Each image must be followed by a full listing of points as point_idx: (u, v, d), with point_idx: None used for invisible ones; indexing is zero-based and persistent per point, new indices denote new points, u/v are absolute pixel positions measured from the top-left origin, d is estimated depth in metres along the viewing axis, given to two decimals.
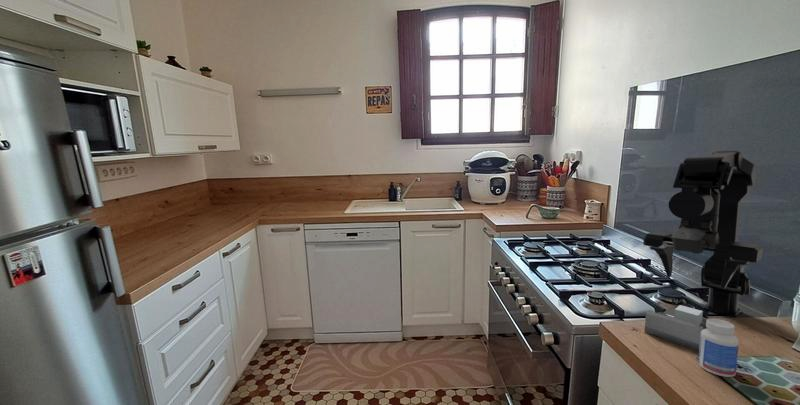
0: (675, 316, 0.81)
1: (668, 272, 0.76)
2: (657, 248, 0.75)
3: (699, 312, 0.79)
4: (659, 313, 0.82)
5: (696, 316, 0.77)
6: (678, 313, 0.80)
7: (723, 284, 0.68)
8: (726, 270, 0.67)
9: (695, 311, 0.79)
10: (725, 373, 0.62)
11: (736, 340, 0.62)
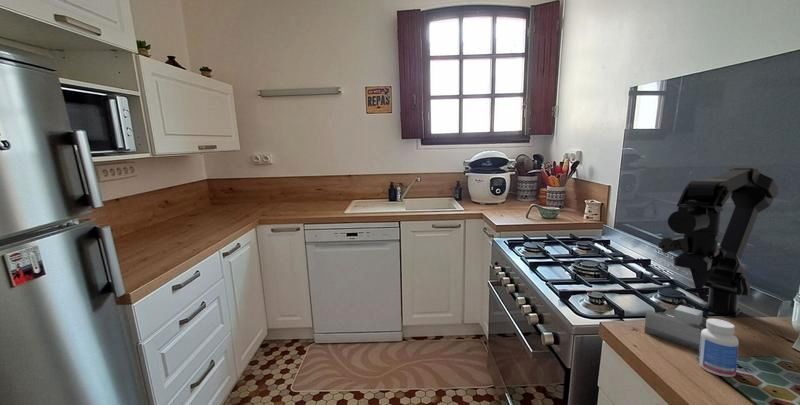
0: (675, 316, 0.81)
1: None
2: None
3: (699, 312, 0.79)
4: (659, 313, 0.82)
5: (696, 316, 0.77)
6: (678, 313, 0.80)
7: None
8: None
9: (695, 311, 0.79)
10: (725, 373, 0.62)
11: (736, 340, 0.62)
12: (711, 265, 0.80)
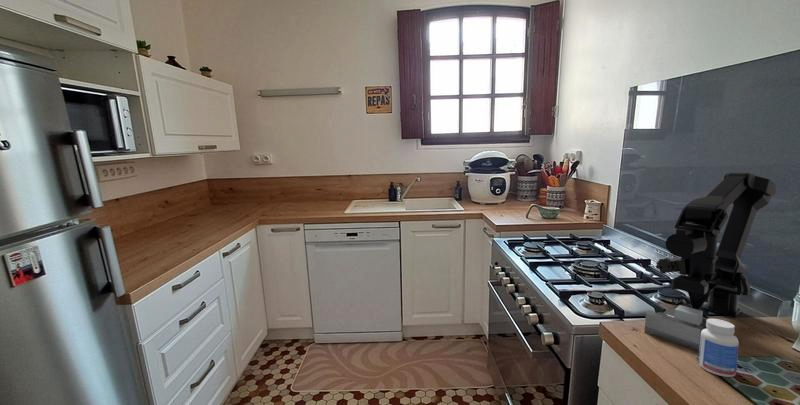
0: (675, 316, 0.81)
1: None
2: None
3: (699, 312, 0.79)
4: (659, 313, 0.82)
5: (696, 316, 0.77)
6: (678, 313, 0.80)
7: None
8: None
9: (695, 311, 0.79)
10: (725, 373, 0.62)
11: (736, 340, 0.62)
12: (708, 287, 0.80)
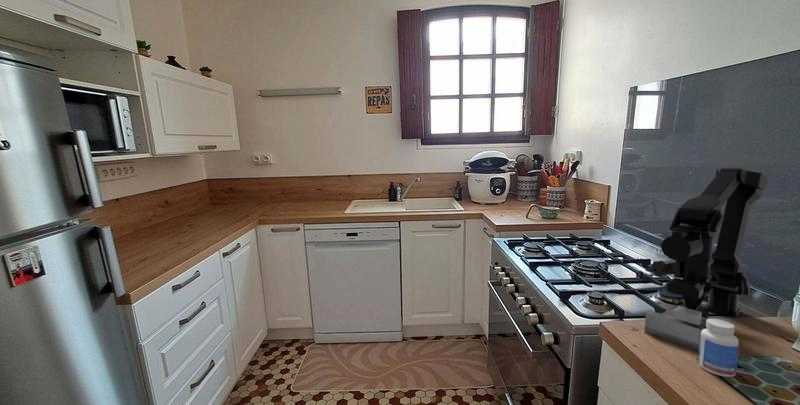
0: (674, 317, 0.80)
1: None
2: None
3: (698, 313, 0.78)
4: None
5: (695, 317, 0.77)
6: (677, 314, 0.79)
7: None
8: None
9: (694, 312, 0.79)
10: (725, 373, 0.62)
11: (736, 340, 0.62)
12: (703, 291, 0.78)
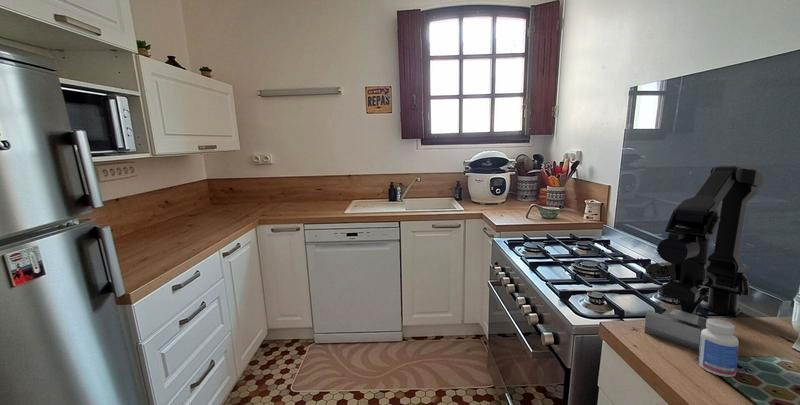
0: None
1: None
2: None
3: (694, 316, 0.76)
4: None
5: (691, 321, 0.75)
6: (673, 317, 0.78)
7: None
8: None
9: (690, 315, 0.77)
10: (725, 373, 0.62)
11: (736, 340, 0.62)
12: (700, 294, 0.76)
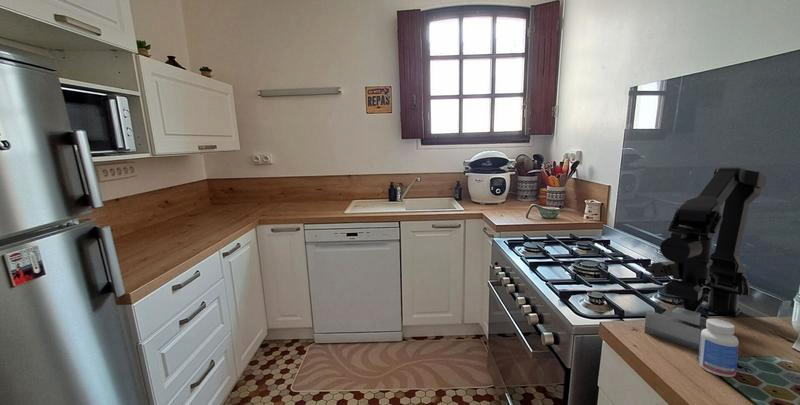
0: None
1: None
2: None
3: (697, 314, 0.77)
4: None
5: (693, 318, 0.76)
6: (675, 315, 0.79)
7: None
8: None
9: (692, 313, 0.78)
10: (725, 373, 0.62)
11: (736, 340, 0.62)
12: (702, 293, 0.77)
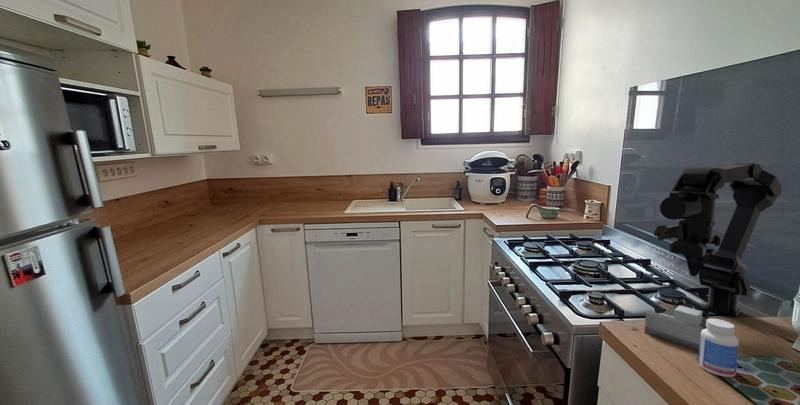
0: (675, 316, 0.80)
1: None
2: None
3: (699, 312, 0.78)
4: None
5: (696, 316, 0.77)
6: (678, 313, 0.80)
7: None
8: None
9: (695, 311, 0.79)
10: (725, 373, 0.62)
11: (736, 340, 0.62)
12: (706, 252, 0.80)
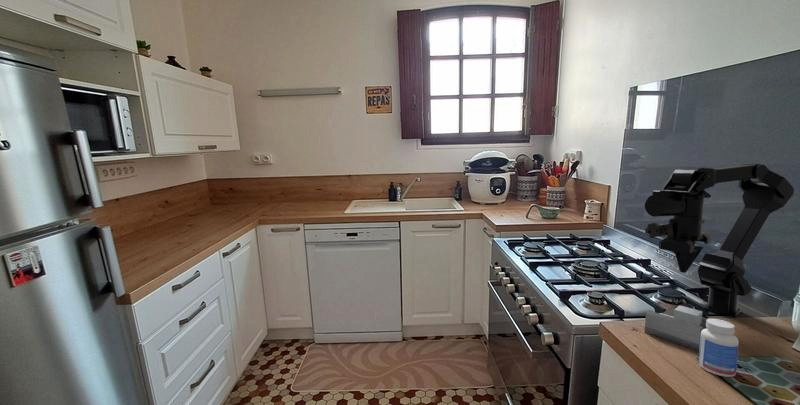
0: (675, 316, 0.80)
1: None
2: None
3: (699, 312, 0.78)
4: None
5: (696, 316, 0.77)
6: (678, 313, 0.80)
7: None
8: None
9: (695, 311, 0.79)
10: (725, 373, 0.62)
11: (736, 340, 0.62)
12: (695, 249, 0.83)
